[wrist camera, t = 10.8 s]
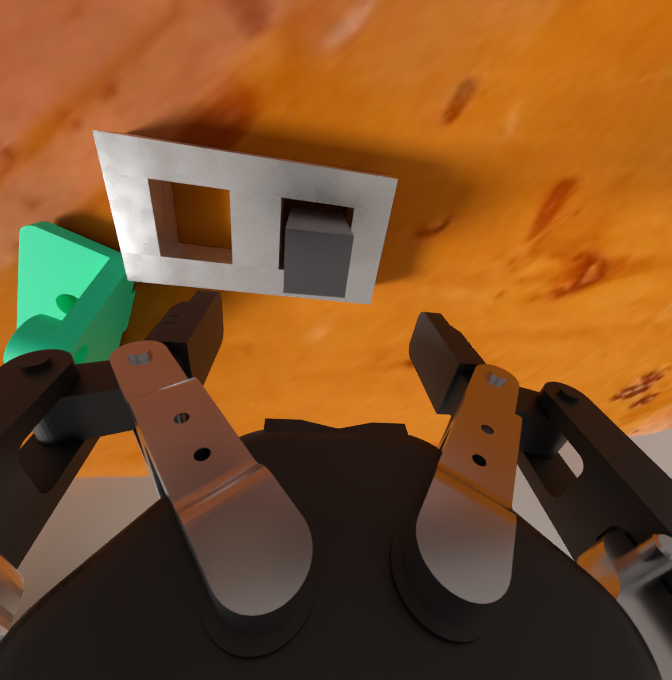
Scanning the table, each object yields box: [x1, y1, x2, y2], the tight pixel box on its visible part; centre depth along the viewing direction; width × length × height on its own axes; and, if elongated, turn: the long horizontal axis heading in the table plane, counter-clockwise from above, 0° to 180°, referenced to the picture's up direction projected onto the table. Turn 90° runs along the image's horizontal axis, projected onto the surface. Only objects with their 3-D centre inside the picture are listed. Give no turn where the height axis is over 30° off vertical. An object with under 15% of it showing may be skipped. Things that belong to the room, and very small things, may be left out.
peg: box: [283, 202, 354, 298], centre depth 23 cm, size 4×4×10 cm
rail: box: [93, 130, 398, 304], centre depth 24 cm, size 10×20×4 cm, turn 82°
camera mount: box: [4, 221, 136, 364], centre depth 24 cm, size 12×8×10 cm, turn 151°
